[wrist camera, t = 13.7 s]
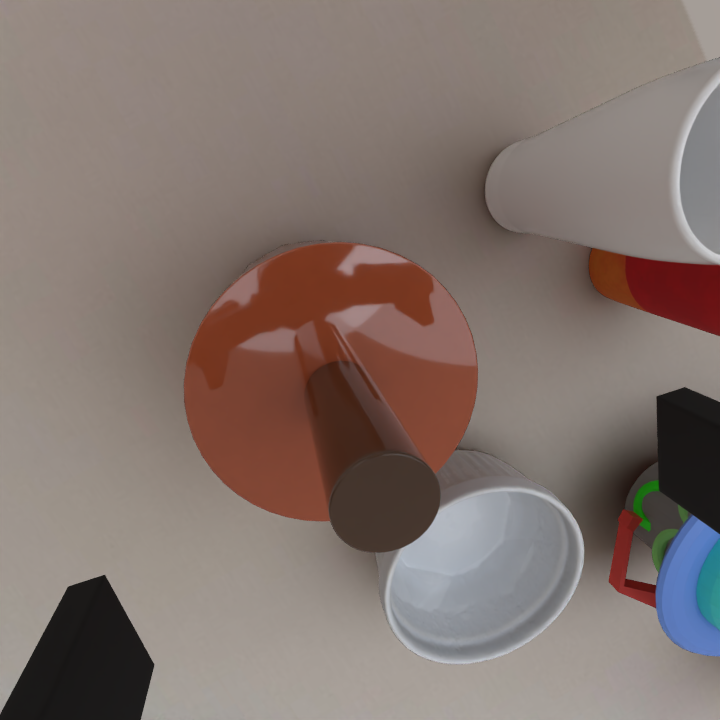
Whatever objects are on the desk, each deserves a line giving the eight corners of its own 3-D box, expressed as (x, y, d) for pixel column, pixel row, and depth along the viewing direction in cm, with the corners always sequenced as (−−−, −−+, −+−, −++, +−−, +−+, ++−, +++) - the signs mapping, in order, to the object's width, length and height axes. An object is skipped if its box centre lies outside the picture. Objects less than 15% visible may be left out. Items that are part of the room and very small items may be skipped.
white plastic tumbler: (573, 231, 30) (840, 245, 16) (476, 254, 30) (668, 289, 15) (568, 117, 28) (871, 19, 14) (463, 138, 27) (672, 56, 13)
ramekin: (559, 466, 36) (625, 522, 29) (476, 602, 38) (520, 682, 32) (411, 407, 32) (449, 457, 25) (330, 563, 34) (345, 645, 28)
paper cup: (691, 212, 32) (995, 210, 18) (651, 322, 34) (900, 391, 20) (594, 186, 30) (854, 163, 17) (557, 304, 32) (764, 367, 19)
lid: (504, 284, 21) (673, 332, 12) (420, 521, 24) (509, 695, 15) (221, 201, 18) (180, 187, 9) (164, 486, 21) (91, 682, 12)
